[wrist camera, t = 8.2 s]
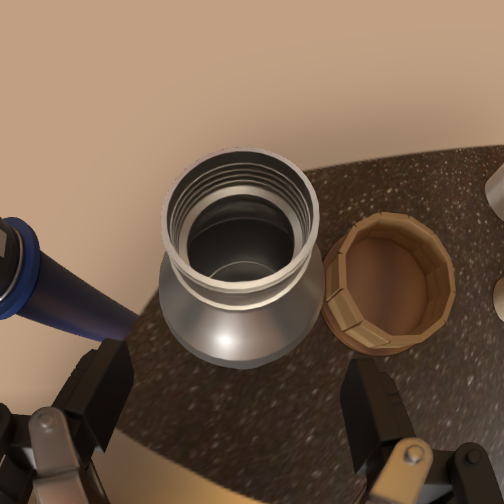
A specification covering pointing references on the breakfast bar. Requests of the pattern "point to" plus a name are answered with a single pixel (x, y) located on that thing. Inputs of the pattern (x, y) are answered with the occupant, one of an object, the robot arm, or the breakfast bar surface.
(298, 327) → the silver metal bottle
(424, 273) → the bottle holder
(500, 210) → the cylindrical container
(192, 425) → the breakfast bar surface
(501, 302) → the candle
